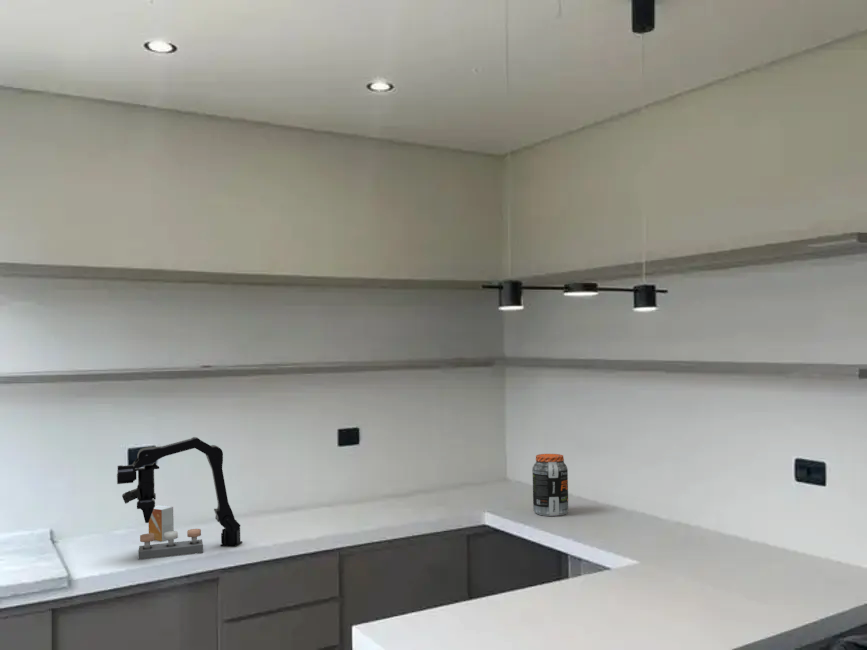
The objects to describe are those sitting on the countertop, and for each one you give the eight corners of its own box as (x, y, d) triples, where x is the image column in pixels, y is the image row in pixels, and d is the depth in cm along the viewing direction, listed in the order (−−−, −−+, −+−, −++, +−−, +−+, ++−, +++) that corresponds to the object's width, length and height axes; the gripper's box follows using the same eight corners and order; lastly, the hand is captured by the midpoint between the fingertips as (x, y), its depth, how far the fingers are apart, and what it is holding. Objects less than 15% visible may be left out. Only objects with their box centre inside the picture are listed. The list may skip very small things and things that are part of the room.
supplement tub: (568, 517, 331) (567, 458, 332) (532, 516, 334) (530, 458, 335) (568, 509, 347) (567, 452, 348) (534, 508, 350) (532, 452, 350)
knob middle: (177, 543, 293) (177, 530, 293) (178, 547, 288) (177, 533, 288) (164, 545, 291) (163, 531, 291) (164, 548, 286) (163, 534, 287)
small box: (148, 539, 311) (147, 507, 312) (160, 536, 317) (160, 504, 317) (162, 541, 307) (161, 509, 308) (174, 538, 313) (173, 506, 313)
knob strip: (202, 546, 298) (202, 539, 298) (203, 552, 289) (202, 544, 289) (139, 553, 290) (139, 545, 290) (138, 559, 282) (138, 551, 282)
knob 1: (154, 546, 290) (154, 532, 290) (154, 549, 285) (154, 535, 285) (140, 547, 288) (140, 534, 288) (140, 551, 284) (139, 537, 284)
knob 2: (200, 541, 296) (200, 528, 296) (201, 544, 291) (201, 531, 291) (187, 542, 294) (187, 529, 294) (187, 545, 289) (187, 532, 289)
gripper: (124, 479, 294) (125, 519, 293) (121, 487, 276) (122, 530, 276) (155, 476, 297) (156, 516, 297) (154, 485, 280) (155, 527, 279)
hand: (146, 522), depth 287 cm, fingers closed
